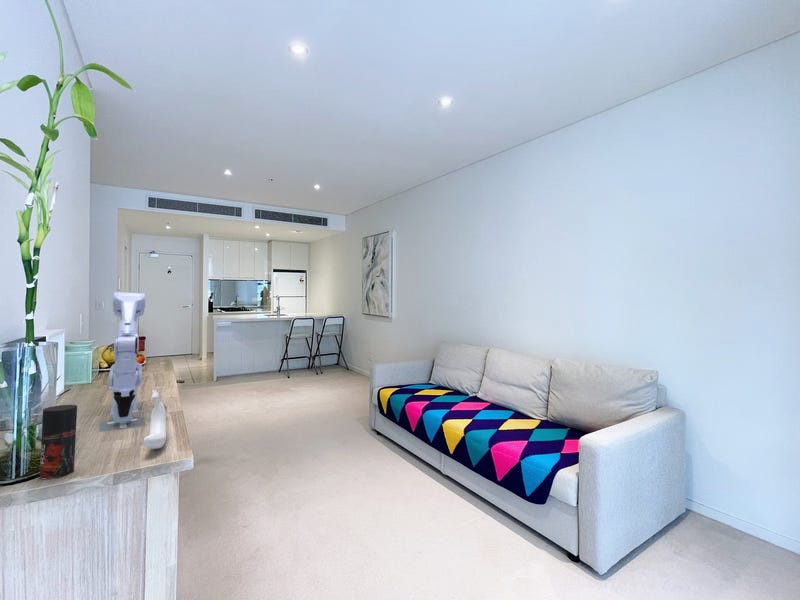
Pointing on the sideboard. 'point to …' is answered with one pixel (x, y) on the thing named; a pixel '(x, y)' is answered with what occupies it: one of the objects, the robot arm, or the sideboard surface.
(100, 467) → the sideboard surface
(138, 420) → the letter card
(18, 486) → the sideboard surface
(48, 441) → the deodorant
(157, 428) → the white curved piece
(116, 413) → the blue cube
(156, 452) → the sideboard surface
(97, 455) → the sideboard surface
